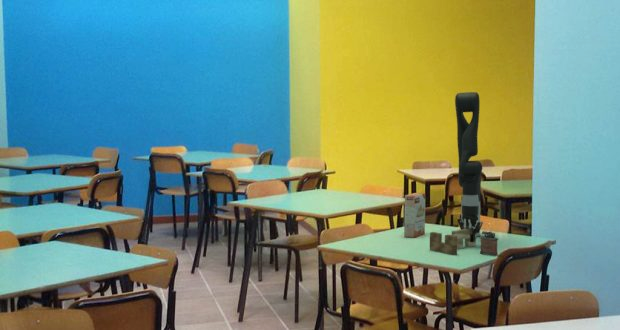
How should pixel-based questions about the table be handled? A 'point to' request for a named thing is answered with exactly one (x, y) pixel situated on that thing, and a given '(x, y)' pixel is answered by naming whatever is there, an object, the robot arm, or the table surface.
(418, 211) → the cracker box
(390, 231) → the table surface
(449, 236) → the notched brown block
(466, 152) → the robot arm
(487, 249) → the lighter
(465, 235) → the beech plate
